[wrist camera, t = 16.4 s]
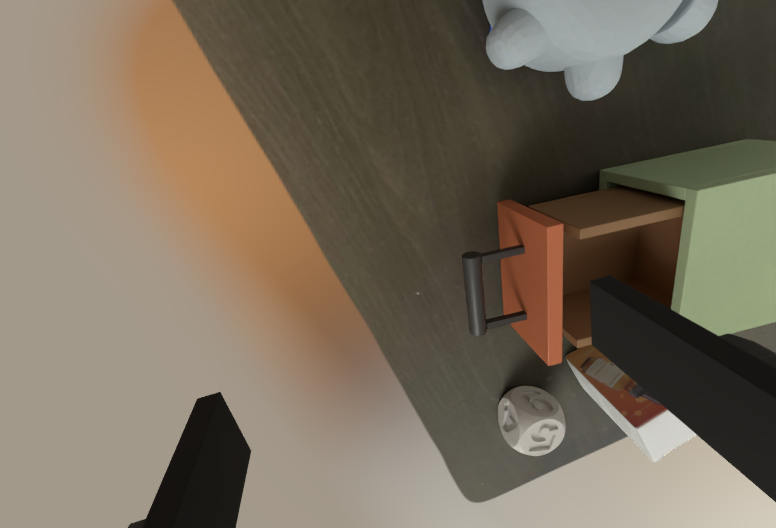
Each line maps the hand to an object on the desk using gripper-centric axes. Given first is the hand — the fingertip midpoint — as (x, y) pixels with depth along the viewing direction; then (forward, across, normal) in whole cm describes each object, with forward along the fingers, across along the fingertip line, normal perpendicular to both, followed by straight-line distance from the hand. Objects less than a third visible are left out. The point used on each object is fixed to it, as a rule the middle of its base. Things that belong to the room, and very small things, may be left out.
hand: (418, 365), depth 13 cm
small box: (+21, +22, -22) cm, 38 cm away
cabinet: (+21, +29, -9) cm, 37 cm away
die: (+21, +12, -26) cm, 35 cm away
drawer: (+20, +15, -8) cm, 26 cm away
